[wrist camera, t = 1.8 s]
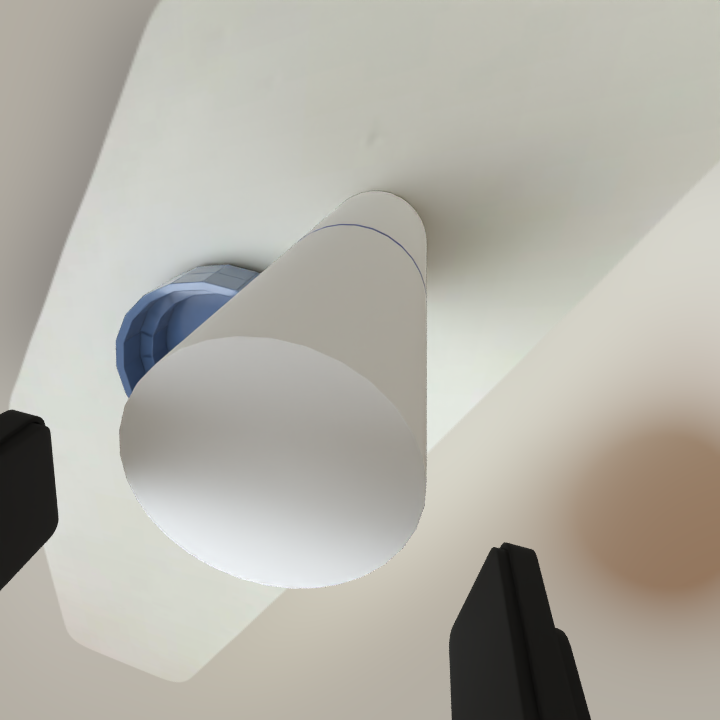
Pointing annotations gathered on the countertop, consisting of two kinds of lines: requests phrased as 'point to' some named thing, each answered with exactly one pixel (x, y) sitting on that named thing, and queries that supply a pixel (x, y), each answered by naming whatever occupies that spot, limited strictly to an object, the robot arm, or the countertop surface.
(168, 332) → the bowl
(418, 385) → the cylindrical container
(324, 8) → the countertop surface
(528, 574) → the robot arm
